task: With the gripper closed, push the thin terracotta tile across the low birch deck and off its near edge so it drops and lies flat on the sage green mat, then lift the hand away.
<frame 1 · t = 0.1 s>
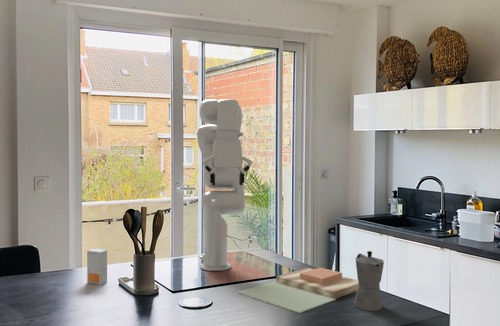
hand: (227, 185, 180), 37 cm above the kitchen island, tool pointing down, fingers open, 9 cm apart
skincare box: (97, 282, 191), on the kitchen island
terracotta tile: (321, 278, 191), point 2 cm above the kitchen island, touching birch deck
birch deck: (319, 285, 190), on the kitchen island
coffeepot: (366, 305, 169), on the kitchen island
sage mat: (285, 296, 177), on the kitchen island
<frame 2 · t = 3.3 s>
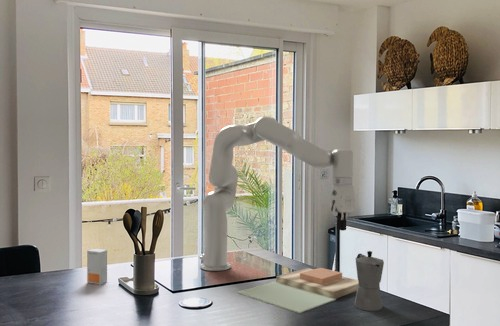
hand: (341, 229, 198), 19 cm above the kitchen island, tool pointing down, fingers closed
nothing on the kitchen island moved.
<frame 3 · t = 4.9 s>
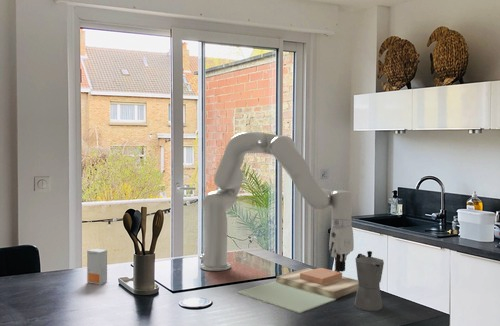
hand: (340, 270, 199), 3 cm above the kitchen island, tool pointing down, fingers closed
nothing on the kitchen island moved.
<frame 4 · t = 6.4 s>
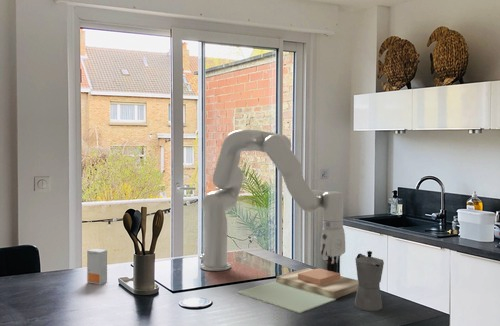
hand: (331, 273, 195), 3 cm above the kitchen island, tool pointing down, fingers closed
terracotta tile: (319, 279, 190), point 3 cm above the kitchen island, touching birch deck
everything else where it was.
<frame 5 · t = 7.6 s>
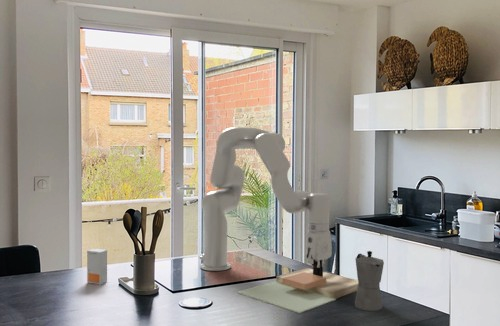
hand: (317, 277, 189), 3 cm above the kitchen island, tool pointing down, fingers closed
terracotta tile: (304, 283, 184), point 3 cm above the kitchen island, touching birch deck, gripper
everything else where it was.
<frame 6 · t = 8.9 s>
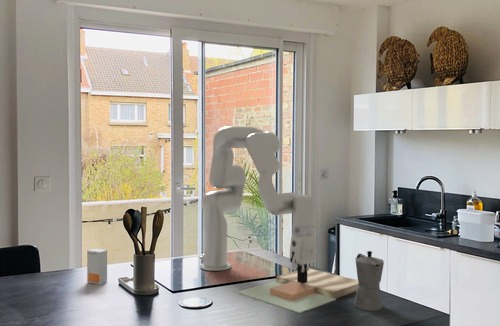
hand: (302, 282, 183), 3 cm above the kitchen island, tool pointing down, fingers closed
terracotta tile: (292, 293, 179), resting on sage mat
everything else where it was.
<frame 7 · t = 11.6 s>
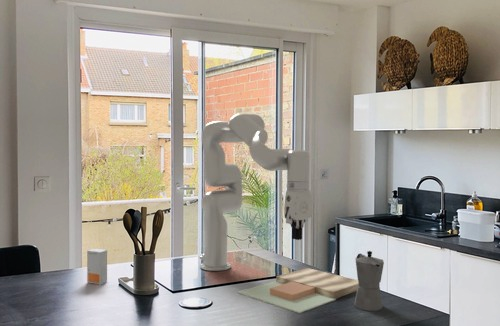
hand: (296, 239, 180), 19 cm above the kitchen island, tool pointing down, fingers closed
nothing on the kitchen island moved.
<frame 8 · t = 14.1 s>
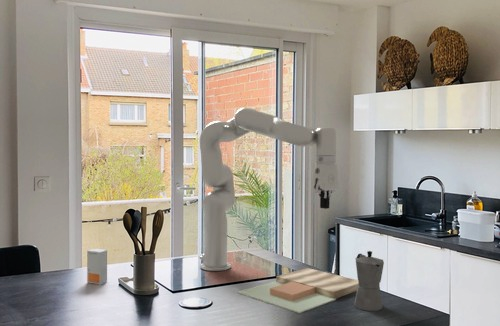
hand: (324, 208, 199), 27 cm above the kitchen island, tool pointing down, fingers closed
nothing on the kitchen island moved.
at the end: terracotta tile inside the target area (3.3 cm from its centre), resting on sage mat; terracotta tile tilted 0°; terracotta tile touching sage mat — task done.
